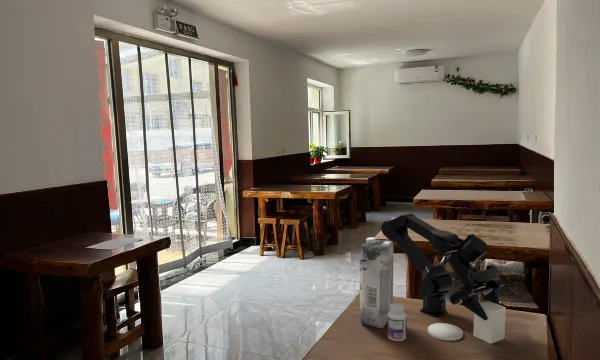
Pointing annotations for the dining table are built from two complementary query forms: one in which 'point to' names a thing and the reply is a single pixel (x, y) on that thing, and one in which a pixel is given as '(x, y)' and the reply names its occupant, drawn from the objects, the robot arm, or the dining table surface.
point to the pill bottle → (397, 322)
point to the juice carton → (376, 281)
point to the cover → (490, 323)
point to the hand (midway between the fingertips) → (493, 317)
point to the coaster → (445, 332)
